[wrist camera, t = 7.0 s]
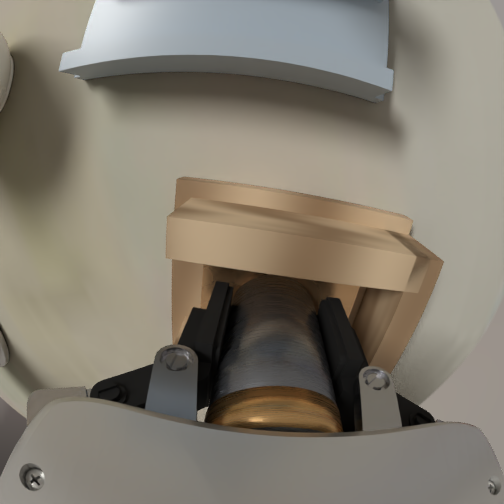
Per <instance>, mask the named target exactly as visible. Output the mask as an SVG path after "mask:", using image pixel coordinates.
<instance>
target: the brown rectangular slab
mask: <svg viewBox="0 0 504 504" xmlns="http://www.w3.org/2000/svg"><path fill="white" fill-rule="evenodd" d="M263 275H273V274H266V273H259V272H252V271H245V270H239V269H232V268H225V267H219V266H212V265H206V264H203V276H202V291H201V307H200V308H202V309H207V306H208V303H209V300H210V297H211V294H212V292H213V289H214V286H215V283H216V281H221V282H227V283H229V286H231V287H233V296H234V294H235V293H236V291H237V290H238V289H239V288H240V287H241V286H242V285H243V284H245V283H246V282H247V281H249V280H251V279H253V278H256V277H259V276H263ZM290 278H292V279H294V280H296V281H298V282H299V283H301V284H302V285H303V286H304V287H305V288H306V289H307V290H308V291H309V293H310V294H311V297H312V299H313V303H314V307H315V311H316V315H317V313H318V309H319V306H320V303H321V301H322V299H323V300H325V299H326V297H333V298H340V300H341V302H342V305H343V307H344V310H345V312H346V315H347V317H348V318H349V315H350V313H351V310H352V307H353V304H354V302H355V299H356V296H357V293H358V290H359V287H360V286H354V285H346V284H338V283H331V282H323V281H316V280H308V279H301V278H294V277H290ZM233 296H232V298H233Z"/></svg>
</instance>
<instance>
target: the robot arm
mask: <svg viewBox="0 0 504 504" xmlns="http://www.w3.org/2000/svg"><path fill="white" fill-rule="evenodd" d="M232 296H233V287H231V286H229V283H227V282H221V281H216V283H215V286H214V289H213V292H212V294H211V297H210V300H209V303H208V306H207V309H202V308H196V307H193V308H192V310H191V313H190V315H189V317H188V320H187V322H186V324H185V327H184V329H183V332H182V334H181V336H180V339H179V341H178V344H177V345H168V346H165V347H163V348H161V349H160V350H159V351H158V352H157V354H156V356H155V360H154V364H151V365H148V366H145V367H142V368H139V369H136V370H133V371H130V372H127V373H124V374H121V375H118V376H115V377H112V378H108V379H105V380H102V381H100V382H98V383H97V384H95V385H94V386H93V388H92V389H86V387H85V386H83V387H70V388H54V389H39V390H36V391H34V392H33V393H31V395H30V396H29V398H28V402H27V428H26V430H25V431H24V433H23V435H22V436H21V438H20V440H19V441H18V443H17V444H16V446H15V448H14V450H13V452H12V454H11V456H10V458H9V460H8V462H7V464H6V466H5V468H4V470H3V473H2V475H1V477H0V504H504V476H503V473H502V470H501V467H500V465H499V462H498V460H497V457H496V455H495V453H494V451H493V449H492V447H491V445H490V443H489V442H488V440H487V438H486V436H485V435H484V433H483V432H482V431H481V430H480V429H479V428H477V427H476V426H473V425H470V424H466V423H461V422H443V421H441V420H436V422H435V421H434V418H433V416H432V415H431V414H430V413H429V412H427V411H426V410H424V409H423V408H421V407H419V406H417V405H416V404H414V403H412V402H411V401H409V400H407V399H406V398H404V397H402V396H401V395H399V394H398V393H396V391H395V386H394V382H393V379H392V377H391V375H390V374H389V373H388V372H387V371H385V370H384V369H382V368H380V367H376V366H369V365H368V362H367V360H366V357H365V354H364V352H363V349H362V346H361V344H360V341H359V339H358V336H357V334H356V331H355V329H353V328H352V327H351V325H350V322H349V320H348V317H347V315H346V312H345V310H344V307H343V305H342V302H341V300H340V298H333V297H326V299H325V300H323V299H322V301H321V303H320V306H319V309H318V313H317V319H318V323H319V327H320V331H321V335H322V339H323V343H324V348H325V352H326V356H327V361H328V365H329V370H330V374H331V379H332V384H333V389H334V393H335V398H336V403H337V407H338V409H339V413H340V418H341V423H342V428H343V432H336V433H301V432H279V431H265V430H255V429H245V428H237V427H230V426H223V425H216V424H210V423H205V422H199V421H197V411H198V410H200V409H202V408H205V407H208V406H209V401H210V397H211V393H212V388H213V383H214V379H215V374H216V372H217V369H218V365H219V360H220V355H221V351H222V346H223V341H224V337H225V332H226V327H227V323H228V318H229V313H230V309H231V303H232ZM8 361H9V352H8V348H7V345H6V342H5V340H4V337H3V335H2V333H1V331H0V367H3V366H5V365H6V363H7V362H8Z"/></svg>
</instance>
